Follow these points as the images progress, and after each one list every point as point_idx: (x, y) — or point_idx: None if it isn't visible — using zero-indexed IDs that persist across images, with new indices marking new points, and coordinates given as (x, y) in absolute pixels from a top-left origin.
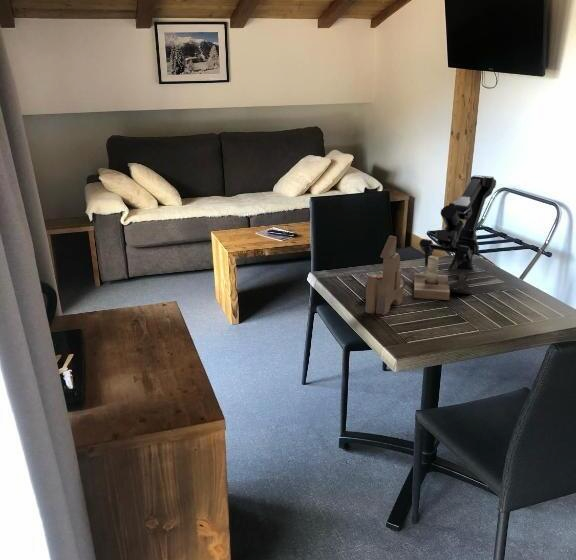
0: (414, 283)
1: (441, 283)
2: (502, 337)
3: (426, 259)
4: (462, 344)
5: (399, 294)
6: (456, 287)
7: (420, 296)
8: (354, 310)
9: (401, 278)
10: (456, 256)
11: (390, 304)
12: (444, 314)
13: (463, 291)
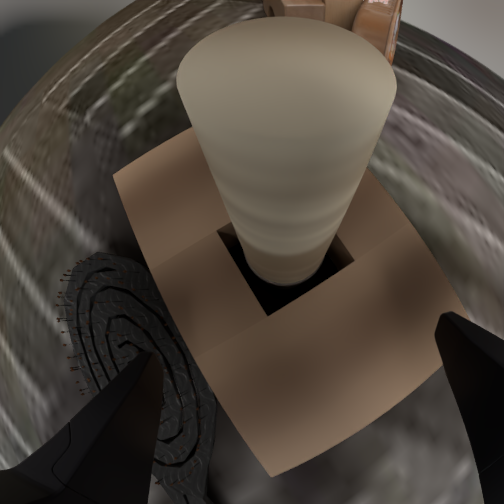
0: None
1: (209, 272)
2: (10, 118)
3: (495, 349)
4: (73, 50)
5: (278, 16)
6: (172, 402)
7: None
8: None
9: (353, 32)
10: (25, 485)
11: (267, 4)
12: (119, 91)
13: (74, 273)
